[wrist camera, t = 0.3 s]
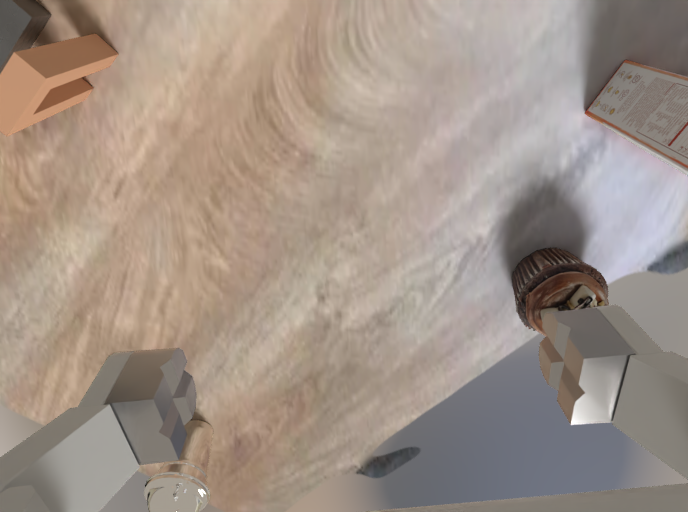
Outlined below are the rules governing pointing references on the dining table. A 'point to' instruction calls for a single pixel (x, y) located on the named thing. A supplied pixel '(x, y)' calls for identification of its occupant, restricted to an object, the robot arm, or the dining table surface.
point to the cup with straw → (183, 475)
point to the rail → (19, 26)
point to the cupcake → (555, 286)
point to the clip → (49, 79)
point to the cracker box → (647, 111)
